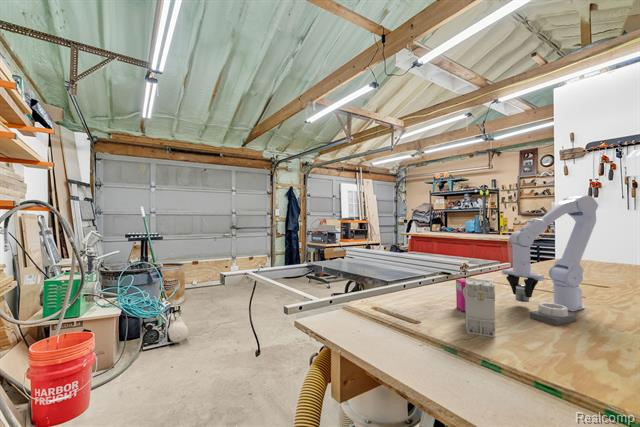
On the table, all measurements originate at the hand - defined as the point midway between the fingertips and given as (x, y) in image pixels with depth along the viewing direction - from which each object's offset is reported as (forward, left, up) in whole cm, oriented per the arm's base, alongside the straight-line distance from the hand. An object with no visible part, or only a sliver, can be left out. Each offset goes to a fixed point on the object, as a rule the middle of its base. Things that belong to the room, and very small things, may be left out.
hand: (522, 295), depth 113 cm
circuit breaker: (+35, +7, -5) cm, 36 cm away
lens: (0, 0, -2) cm, 2 cm away
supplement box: (+24, -6, -5) cm, 25 cm away
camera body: (+5, +13, -4) cm, 15 cm away
